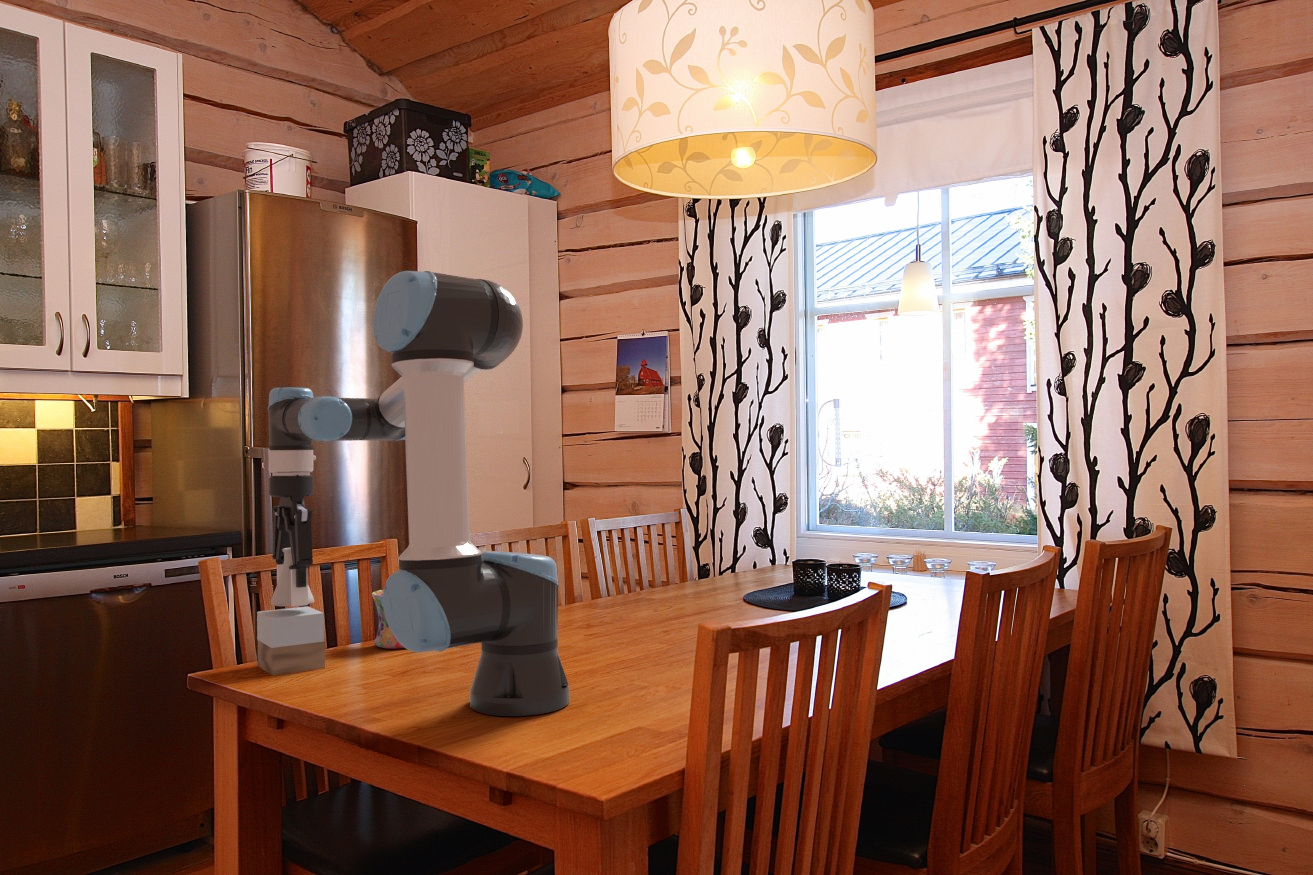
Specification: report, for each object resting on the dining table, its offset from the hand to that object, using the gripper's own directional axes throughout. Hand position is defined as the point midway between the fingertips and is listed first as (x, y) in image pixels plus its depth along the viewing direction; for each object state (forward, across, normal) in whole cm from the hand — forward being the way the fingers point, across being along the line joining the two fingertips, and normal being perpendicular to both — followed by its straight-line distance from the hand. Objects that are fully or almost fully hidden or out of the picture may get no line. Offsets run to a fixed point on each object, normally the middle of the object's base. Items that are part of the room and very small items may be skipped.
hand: (292, 602), depth 175 cm
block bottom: (+12, 0, 0) cm, 12 cm away
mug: (+12, +5, -23) cm, 26 cm away
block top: (+7, 0, 0) cm, 7 cm away
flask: (+1, 0, 0) cm, 1 cm away
